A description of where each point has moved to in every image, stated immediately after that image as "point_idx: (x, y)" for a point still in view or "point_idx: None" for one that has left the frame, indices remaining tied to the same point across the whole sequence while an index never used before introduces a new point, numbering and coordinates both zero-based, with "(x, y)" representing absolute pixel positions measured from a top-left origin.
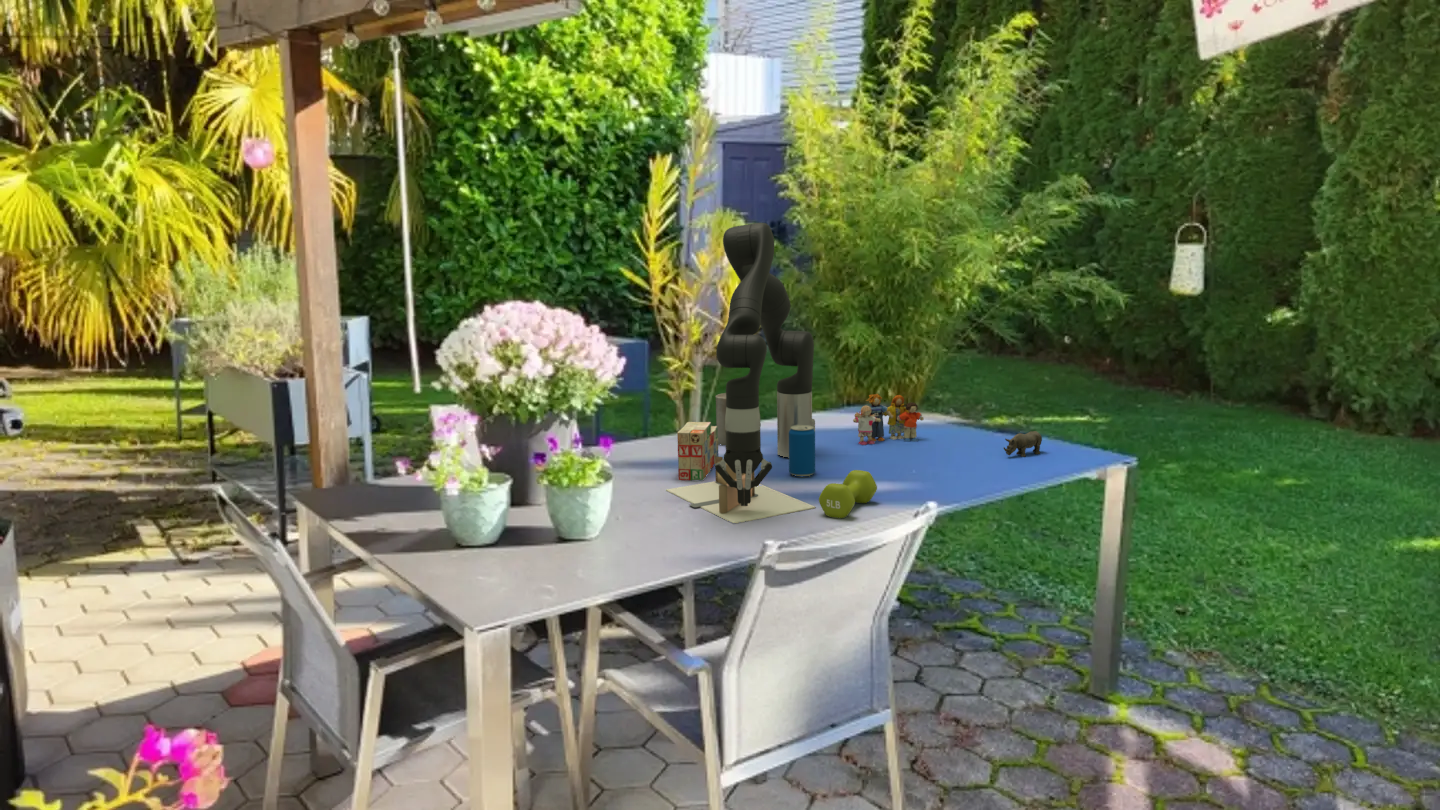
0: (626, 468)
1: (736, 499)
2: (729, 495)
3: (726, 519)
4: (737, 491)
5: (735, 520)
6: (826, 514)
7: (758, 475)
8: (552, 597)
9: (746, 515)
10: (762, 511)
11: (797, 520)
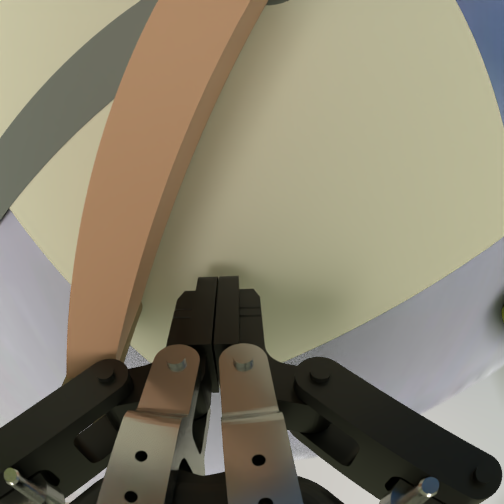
0: None
1: (163, 226)
2: (126, 336)
3: None
4: (169, 343)
5: None
6: (502, 316)
7: (353, 429)
8: None
9: None
10: (315, 287)
11: (416, 353)
